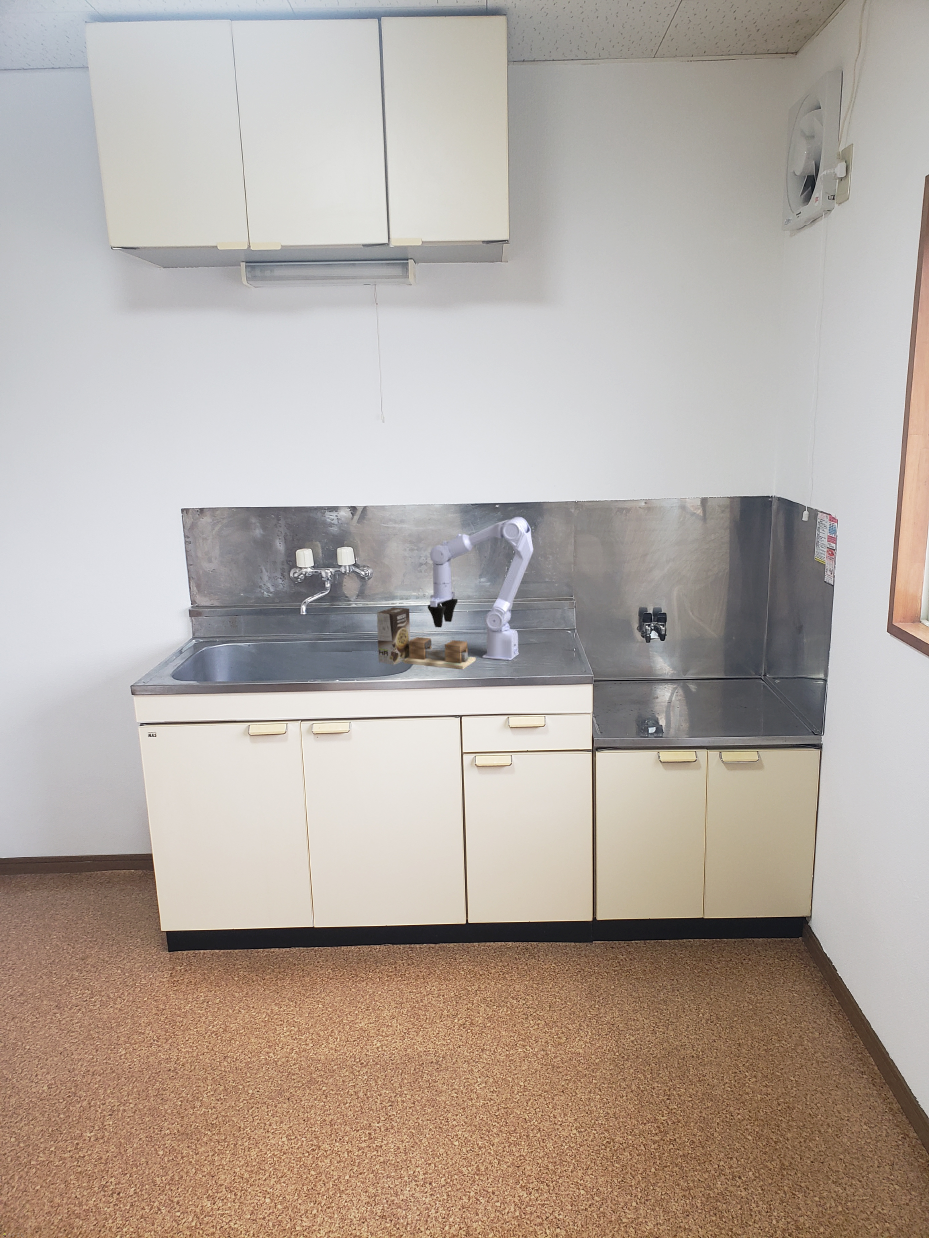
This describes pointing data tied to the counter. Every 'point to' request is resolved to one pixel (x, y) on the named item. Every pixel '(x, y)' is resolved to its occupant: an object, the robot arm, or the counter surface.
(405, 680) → the counter surface
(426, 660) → the rail board
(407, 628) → the coffee box
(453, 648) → the forked wooden block
